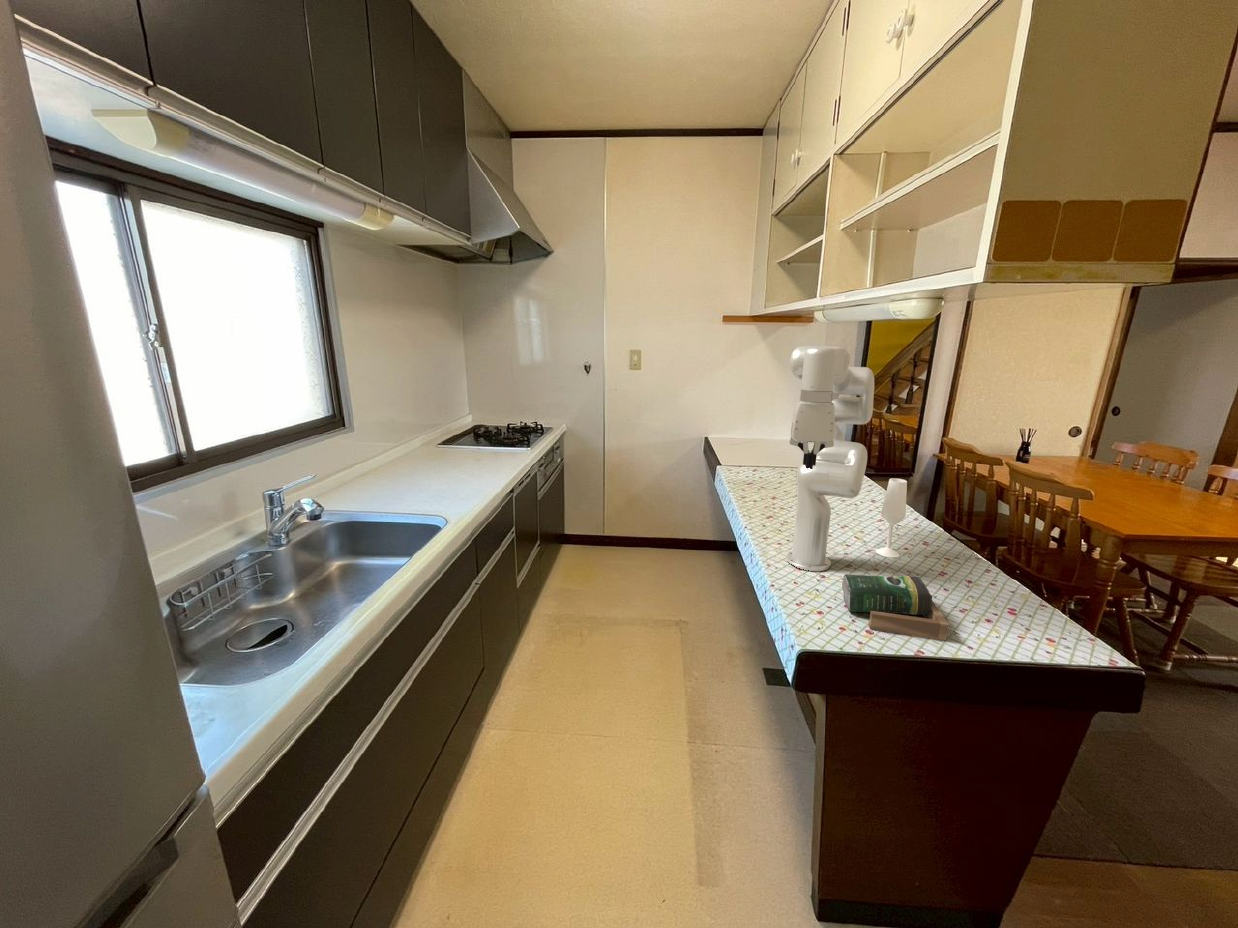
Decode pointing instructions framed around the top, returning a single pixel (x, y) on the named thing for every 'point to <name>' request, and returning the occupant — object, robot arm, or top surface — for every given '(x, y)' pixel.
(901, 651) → the top surface
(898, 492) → the champagne flute
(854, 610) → the coffee jar
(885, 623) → the display stand
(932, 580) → the top surface
